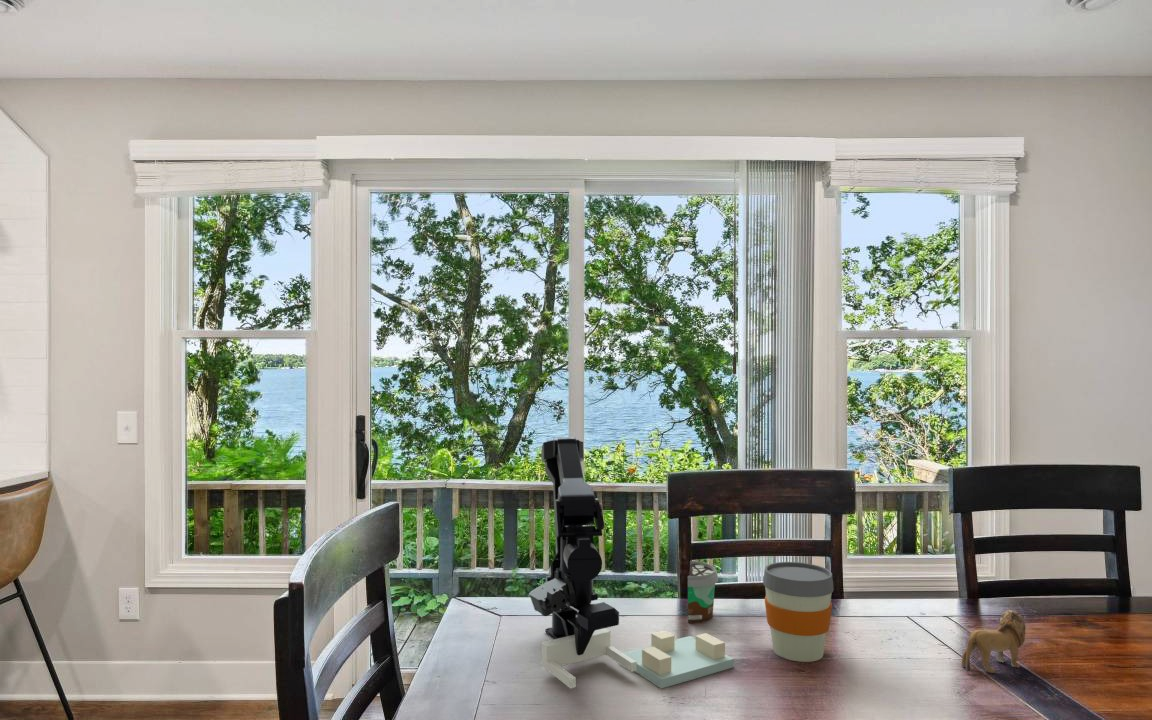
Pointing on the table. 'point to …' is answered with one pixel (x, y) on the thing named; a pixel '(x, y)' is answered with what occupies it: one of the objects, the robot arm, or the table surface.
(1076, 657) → the table surface
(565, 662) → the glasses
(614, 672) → the table surface
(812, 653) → the reusable coffee cup
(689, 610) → the food container
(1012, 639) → the lion figurine
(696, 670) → the display stand
